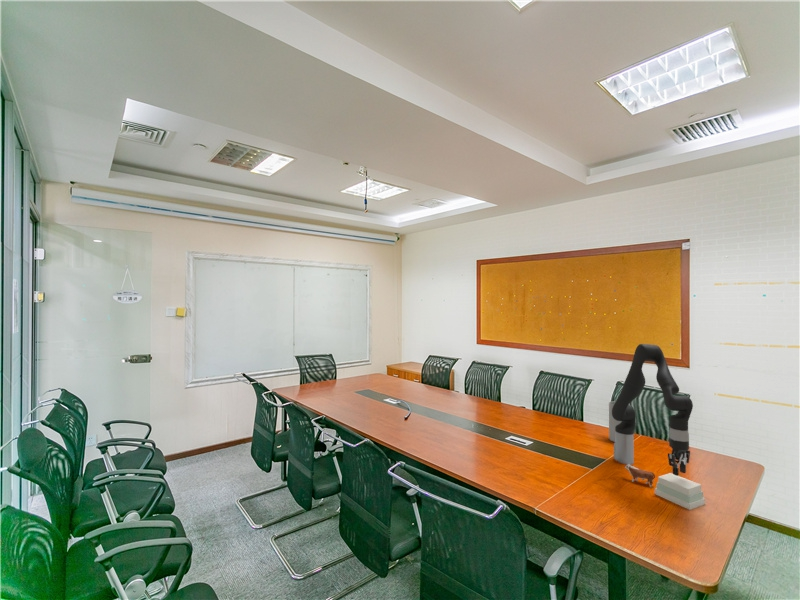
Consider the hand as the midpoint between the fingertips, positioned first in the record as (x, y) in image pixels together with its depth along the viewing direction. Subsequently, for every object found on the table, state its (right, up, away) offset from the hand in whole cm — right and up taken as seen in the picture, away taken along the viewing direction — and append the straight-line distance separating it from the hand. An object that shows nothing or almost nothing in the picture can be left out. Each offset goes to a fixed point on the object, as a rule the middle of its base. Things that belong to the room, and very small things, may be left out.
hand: (679, 473), depth 171 cm
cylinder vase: (+16, -13, +73) cm, 76 cm away
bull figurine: (-8, -13, +16) cm, 22 cm away
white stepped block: (0, -12, 0) cm, 12 cm away
